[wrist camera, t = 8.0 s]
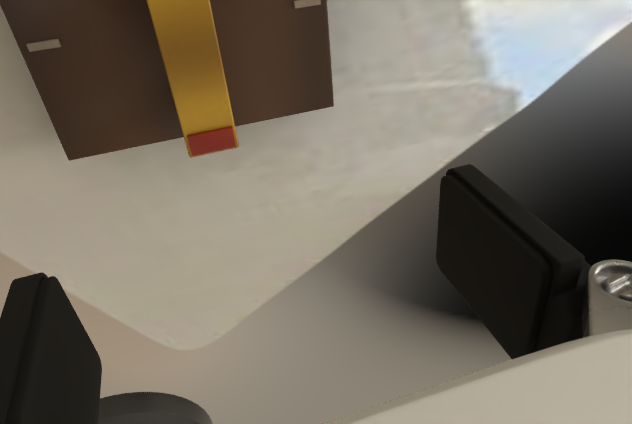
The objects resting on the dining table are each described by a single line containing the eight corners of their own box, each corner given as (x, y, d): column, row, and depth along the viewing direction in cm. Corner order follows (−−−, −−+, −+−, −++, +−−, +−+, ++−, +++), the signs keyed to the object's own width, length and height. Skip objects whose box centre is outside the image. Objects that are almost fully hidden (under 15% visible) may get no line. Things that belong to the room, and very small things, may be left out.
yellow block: (124, -95, 21) (122, -88, 17) (181, -101, 21) (191, -96, 17) (182, 121, 27) (190, 160, 23) (226, 112, 27) (240, 149, 23)
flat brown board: (297, -170, 24) (316, -175, 21) (320, 105, 32) (336, 124, 29) (-41, -139, 21) (-66, -140, 18) (81, 153, 29) (76, 179, 27)
